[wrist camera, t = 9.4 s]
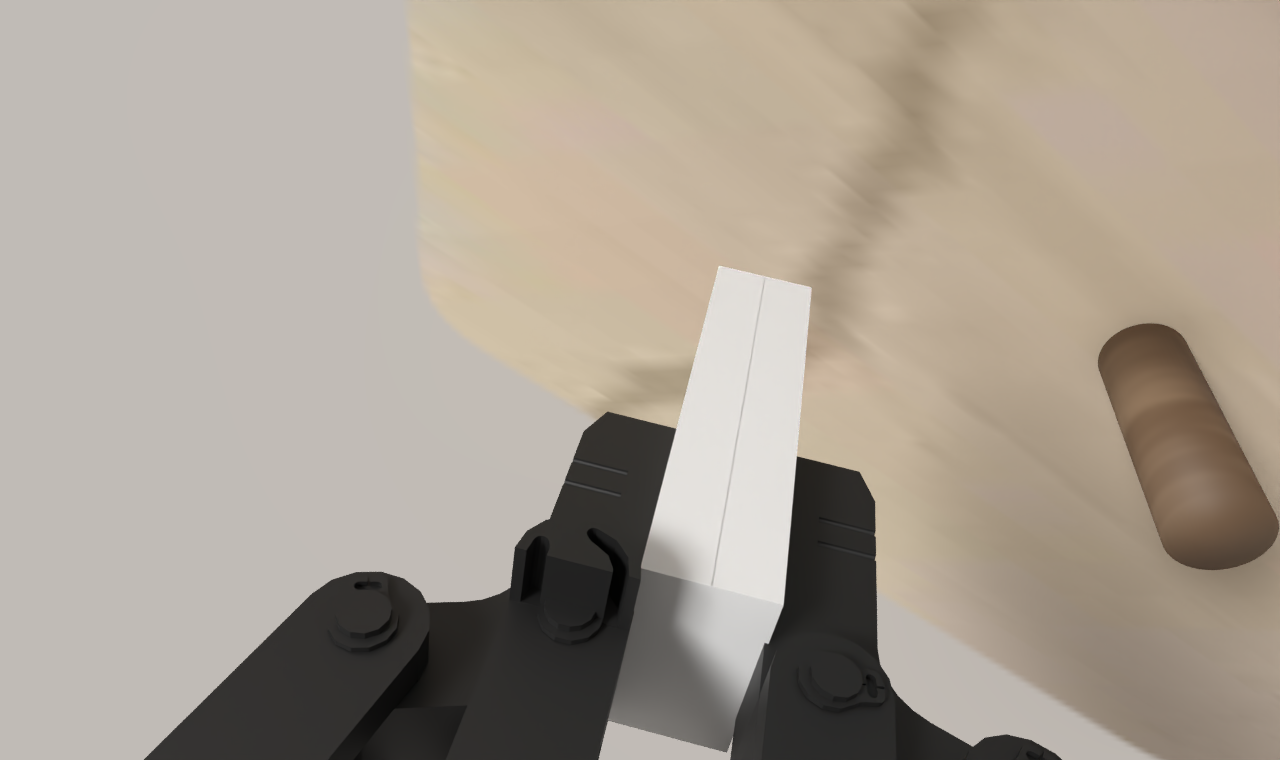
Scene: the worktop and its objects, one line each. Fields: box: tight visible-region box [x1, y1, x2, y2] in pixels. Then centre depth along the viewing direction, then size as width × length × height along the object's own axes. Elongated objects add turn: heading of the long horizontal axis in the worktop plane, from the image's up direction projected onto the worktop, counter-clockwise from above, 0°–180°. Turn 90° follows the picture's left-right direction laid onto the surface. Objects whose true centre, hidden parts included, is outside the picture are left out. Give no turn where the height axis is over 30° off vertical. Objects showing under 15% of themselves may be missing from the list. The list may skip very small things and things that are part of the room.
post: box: [1098, 324, 1279, 570], centre depth 27 cm, size 3×3×8 cm
